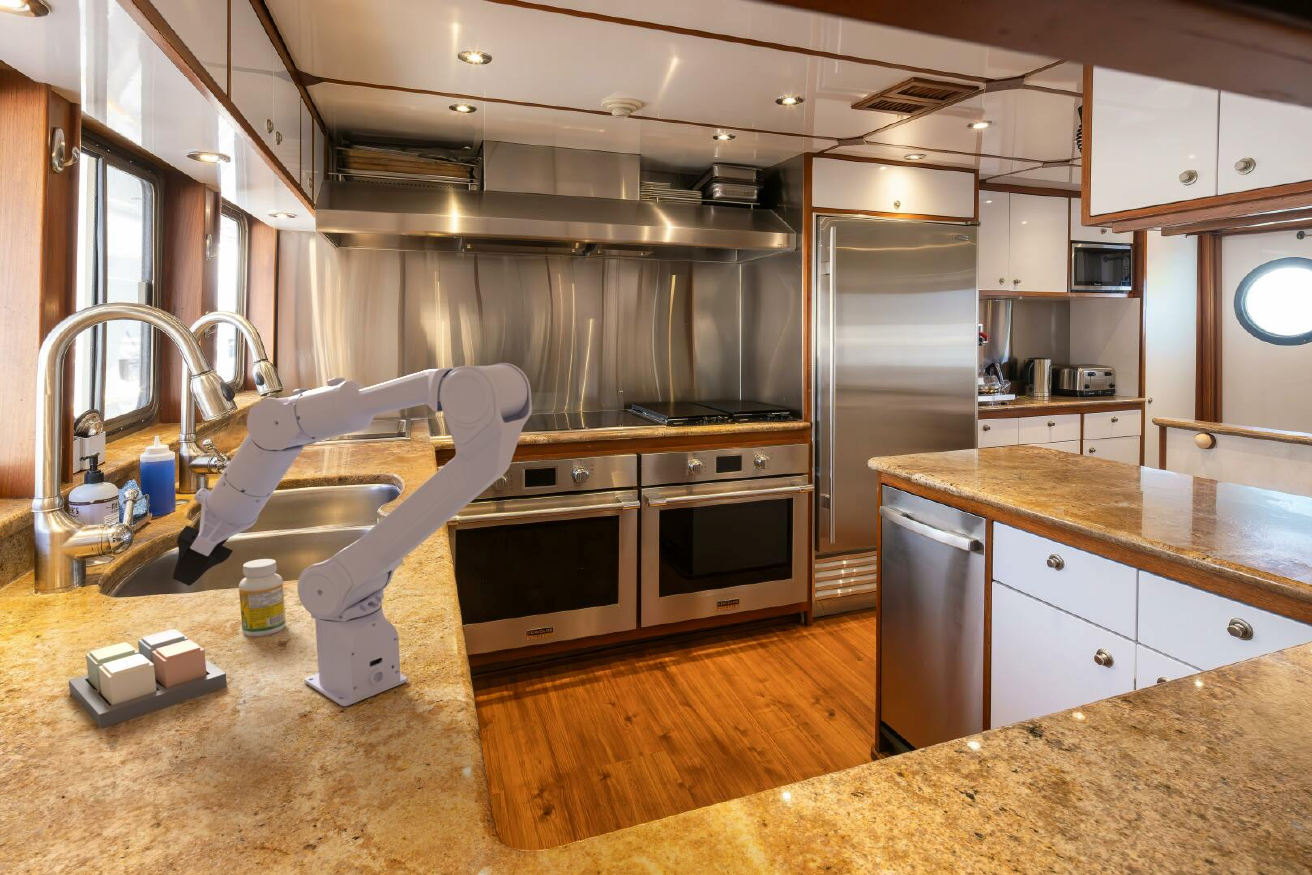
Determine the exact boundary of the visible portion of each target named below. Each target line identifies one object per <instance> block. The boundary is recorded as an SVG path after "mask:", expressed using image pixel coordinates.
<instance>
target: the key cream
mask: <svg viewBox="0 0 1312 875" xmlns="http://www.w3.org/2000/svg"><path fill="white" fill-rule="evenodd" d="M99 675H100V684H101V694H102V695H103V696H104V697H105V698H106V700H107V701H108V702H109V703H108V704H109V705H110V706H112V705H115V704H119V703H122V702H125V701H128V700H131V699H134V698H137V697H140V696H143V695H147V694H150V693H153V692H156V682H155V671H154V664H153V663H151V662H150V661H149V660H148V659H147V658H145V657H144V656H143V655H140V654H136V655H132V656H129V657H125V658H122V659H118V660H115V661H111V662H108V663H104V664H103V666H99Z"/></svg>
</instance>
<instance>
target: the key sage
mask: <svg viewBox="0 0 1312 875" xmlns="http://www.w3.org/2000/svg"><path fill="white" fill-rule="evenodd" d="M136 654H139V650H137V649H136V648H135V647H133V645H131V644H130V643H129V642H126V641H124V642H119V643H117V644H112V645H108V646H104V647H100V648H98V649H93V650H91V651H90V650H89V652H88V653H85V660H86V670H87V674H88V679H89V682H90V683H91V684H92V685H93V686H94V687H95V688H96V690H97V691H100V690H101V684H100V675H99V666H103V664H104V663H108V662H111V661H115V660H118V659H122V658H125V657H129V656H132V655H136Z"/></svg>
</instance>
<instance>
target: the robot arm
mask: <svg viewBox="0 0 1312 875" xmlns="http://www.w3.org/2000/svg"><path fill="white" fill-rule="evenodd" d="M326 384H327V385H326V386H323V387H319V388H314V389H311V390H308V389H307V388H298V389H297V388H296V389H294V390H292V395H291V396H287V397H278V398H276V397H265V398H264V399H262V400H261V401H258V402H256V403H255V404H254V405H253V406H252V407H251V409H249V412H248V415H247V418H246V426H247V431H248V433H247V434H246V436H245V437H244V439H243V441H242V442H241V444H240V445H239V447H238V449H237V450H236V452H235V453H234V455H233V456H232V458H231V460H230V461H229V462H228V464H227V466H226V467H225V469H224V471H222V473H221V476H220V477H219V478H218V480H217V481H216V483H215V484H214V485H213V487H212V489H211V490H209V489H207V488H200V489H199V490H198V491H197V492H196V493H195V495H194V496H193V499H194V501H195V502H197V503H199V504H200V505H201V506H200V507H201V508H200V509H201V511H200V518H199V519H200V520H199V530H198V529H196V528H194V527H192V526H189V525H185V526H184V527H183V529H182V530H181V531H180V533H178V537H177V539H176V543H177V547H178V556H177V560H176V564H175V567H174V570H173V574H172V579H173V580H174V581H177V582H179V583H181V584H184V585H187V586H189V587H190V586H192V585H193V584H194V583H196V582H197V581H198V580H199V579H200V578H201V577H202V576H203V575H204V574H205V573H207V571H208V570H210V569H211V568H213V567H215V566H216V565H219V564H222V563H224V562H225V561H226V560H228V559H229V557H230V556H231V555H232V553H233V552H234V551H233V549H231V548H228V547H227V546H224V544H225V543H226V542H227V541H228V540H229V539H230V538H232V537H233V536H235V535H237V534H240V533H242V532H244V531H246V530H248V529H250V528H252V527H253V526H254V525H255V524H256V522H257V521H258V518H259V514H260V513H261V511H262V510H263V509H264V507H265V506H266V504H267V502H268V501H269V500H270V498H271V496H272V495H273V493H274V492H275V490H276V489H277V488H278V486H279V485H280V483H281V481H282V480H283V479H284V477H285V475H286V474H287V472H289V470H290V468H291V467H292V466H293V463H294V461H295V460H296V458H297V457H298V456H299V454H301V453H302V451H303V450H304V448H305V447H306V446H310V445H314V444H316V443H318V442H319V441H323V440H326V439H330V438H335V437H339V436H343V435H344V436H345V435H347V434H353V433H357V432H360V431H361V432H362V431H364V430H365V429H368V428H369V427H370V426H371V424H372V423H373V421H374V418H375V416H376V415H380V414H385V413H391V412H394V411H400V410H403V409H404V410H405V409H410V408H413V407H417V406H419V407H420V406H423V405H426V406H428V407H429V408H430V409H431V410H432V411H433V412H435V413H441V412H443V415H444V418H445V422H446V425H447V428H448V430H449V432H450V436H451V439H452V441H453V444H454V447H455V455H454V457H453V458H452V459H450V460H449V461H447V463H445V465H443V466H442V467H441V468H440V469H438V471H437V472H435V473H434V474H433V475H432V476H431V477H429V478H428V479H427V480H426V481H425V482H424V483H422V485H420V486H419V487H417V489H415V490H414V491H413V492H412V493H411V494H410V495H409V496H407V497H406V498H405V499H404V500H402V502H401V503H399V504H398V505H397V506H396V507H395V508H394V509H392V510H391V511H390V512H389V513H388V514H387V515H385V517H383V518H382V519H381V520H379V521H378V523H376V524H375V525H374V526H373V527H372V528H371V529H370V530H368V531H367V532H366V533H365V534H364V535H362V536H361V537H360V538H359V539H357V540H356V541H354V542H352V543H351V544H350V545H349V544H348V546H346V547H344V548H343V549H341V550H339V551H338V552H337V553H335V554H334V555H333V556H332V557H330V558H328V559H326V560H323V561H322V562H317V563H314V564H311V565H309V566H307V567H306V568H304V569H303V571H301V574H300V575H299V577H298V581H297V586H296V587H297V594H298V599H299V601H300V603H301V604H302V606H303V607H304V608H305V610H306V611H307V612H308V613H309V614H310V618H311V619H314V621H315V622H314V623H315V638H316V652H317V653H316V654H317V667H318V668H317V670H318V671H317V672H318V673H315V674H312V675H308V676H307V677H306V676H305V678H303V679H304V683H306V684H307V685H309V686H310V687H311V688H313V689H314V690H316V691H317V692H319V693H320V694H323V695H324V696H326V697H327V698H329V699H330V700H331V701H333V702H335V703H336V704H338V705H340V706H341V707H348V706H351V705H352V704H355V703H358V702H360V701H362V700H365V699H368V698H370V697H372V696H376V695H378V694H381V693H383V692H384V691H385V692H386V691H388V690H390V689H392V688H395V687H397V686H399V685H403V684H405V683H407V682H408V677H407V675H404V674H402V673H401V664H400V663H401V662H400V661H401V660H400V659H401V658H400V642H399V638H400V637H399V633H398V630H397V629H396V627H395V626H394V625H393V624H392V623H391V621H388V619H387V617H386V616H385V614H384V610H383V605H382V604H383V602H382V600H384V594H385V593H384V590H385V589H386V588H387V587H388V586H389V585H390V583H391V581H392V579H393V575H394V574H395V571H396V569H398V568H399V567H400V566H401V565H402V564H403V563H404V559H405V558H406V557H407V556H408V555H410V553H412V552H413V551H414V550H416V548H418V546H420V545H421V544H422V543H424V542H425V541H426V540H427V539H428V538H429V537H431V536H433V535H434V534H435V533H436V532H437V531H438V530H440V528H442V526H443V525H445V524H446V523H447V522H449V521H450V520H451V519H452V518H453V517H455V516H456V515H457V514H458V513H459V512H460V511H461V510H463V509H464V508H466V507H467V506H468V505H469V504H470V503H471V502H472V501H474V500H475V499H476V498H477V497H479V496H480V495H481V494H482V493H484V492H485V491H486V490H487V489H488V488H489V487H491V486H492V485H493V484H494V483H495V482H496V481H498V480H499V479H500V478H501V477H503V475H504V474H505V473H506V472H507V471H508V470H509V469H510V466H511V464H512V460H513V458H514V454H515V452H516V448H517V446H518V442H519V439H520V436H521V433H522V431H523V428H524V426H525V424H527V421H528V419H529V418H530V416H531V415H532V414H533V407H532V406H533V405H532V402H533V401H532V390H531V385H530V381H529V379H528V377H527V375H526V373H524V372H523V370H522V369H521V368H520V367H518V366H516V365H514V364H512V363H508V362H500V363H495V364H492V365H461V366H457V367H443V368H431V369H426V370H423V371H419V372H416V373H412V374H408V375H406V376H402V377H399V378H395V379H392V380H389V381H385V382H382V383H379V384H375V385H372V386H369V387H366V386H364V385H363V384H362V383H360V382H358V381H356V380H350V379H349V380H346V379H345V378H344V377H334V378H330V379H327V381H326ZM365 431H366V430H365Z"/></svg>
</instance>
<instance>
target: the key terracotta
mask: <svg viewBox="0 0 1312 875" xmlns="http://www.w3.org/2000/svg"><path fill="white" fill-rule="evenodd" d="M152 655H153V664H154V671H155V679H156V680H158V681H159V682H160V683H161V684H162V685H163V686H162V687H163V688H168V687H172V686H175V685H178V684H181V683H184V682H187V681H190V680H193V679H196V678H200V677H203V676H206V675H207V674H206V662H205V659H206V653H205V648H203V647H202V646H200V645H199V644H197V643H196V642H195V641H193V640H192V639H189V640H186V641H182V642H179V643H175V644H171V645H168V646H164V647H161V648H157V649H156V651H152Z"/></svg>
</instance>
